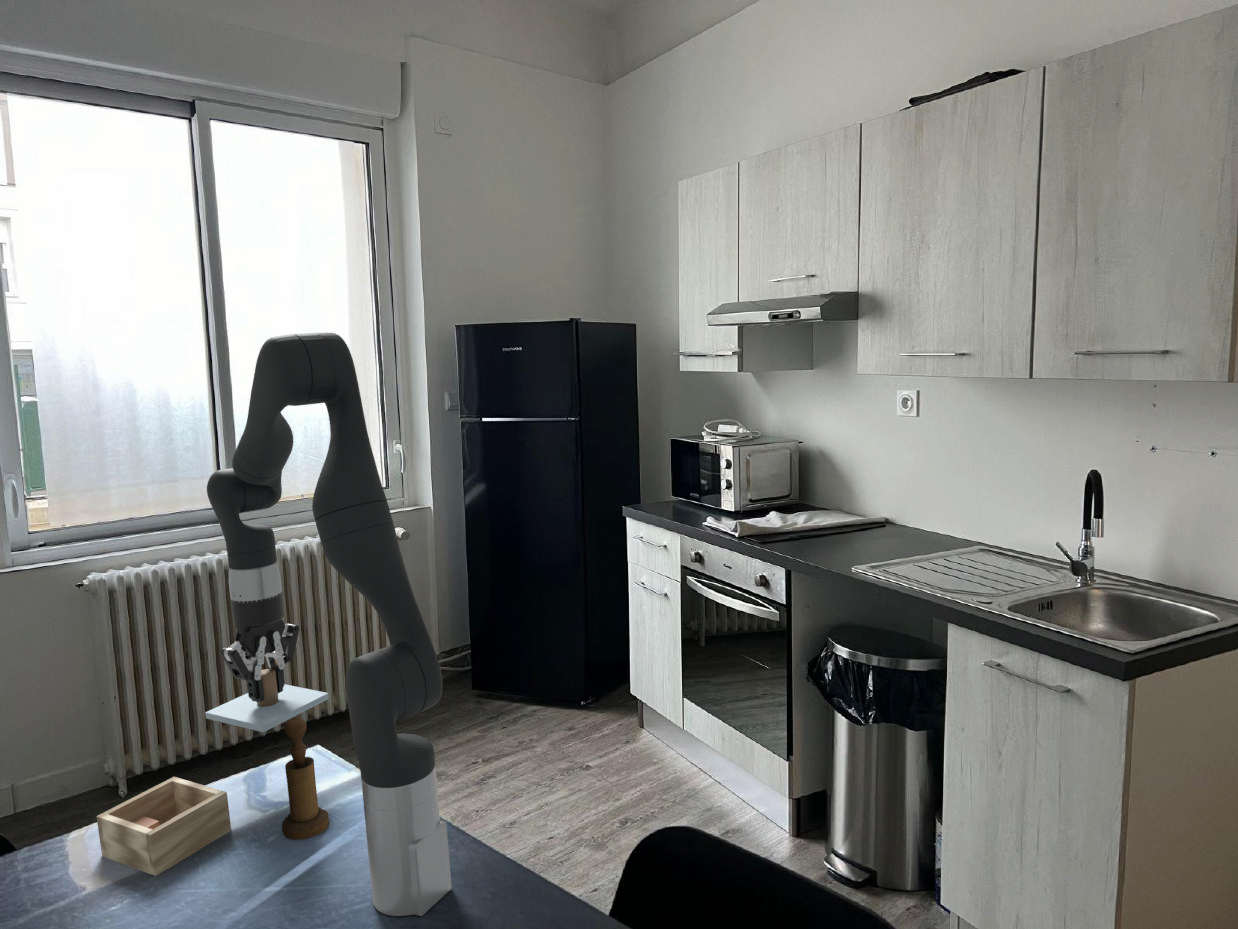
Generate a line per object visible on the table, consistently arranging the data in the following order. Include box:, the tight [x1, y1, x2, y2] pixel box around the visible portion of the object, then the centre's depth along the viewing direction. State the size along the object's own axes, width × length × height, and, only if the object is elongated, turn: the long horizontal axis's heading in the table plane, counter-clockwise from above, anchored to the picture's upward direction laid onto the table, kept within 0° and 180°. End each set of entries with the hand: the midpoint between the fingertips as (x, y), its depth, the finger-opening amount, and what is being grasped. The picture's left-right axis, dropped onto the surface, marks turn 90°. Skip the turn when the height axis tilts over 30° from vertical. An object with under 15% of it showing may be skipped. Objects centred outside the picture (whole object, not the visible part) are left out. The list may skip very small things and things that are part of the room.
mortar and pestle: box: [281, 716, 330, 841], centre depth 125 cm, size 7×6×18 cm
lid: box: [204, 668, 330, 733], centre depth 137 cm, size 13×13×6 cm
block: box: [132, 816, 160, 830], centre depth 123 cm, size 4×4×4 cm
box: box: [96, 776, 232, 877], centre depth 124 cm, size 12×12×7 cm
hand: (267, 695), depth 137 cm, fingers closed on lid, 3 cm apart
